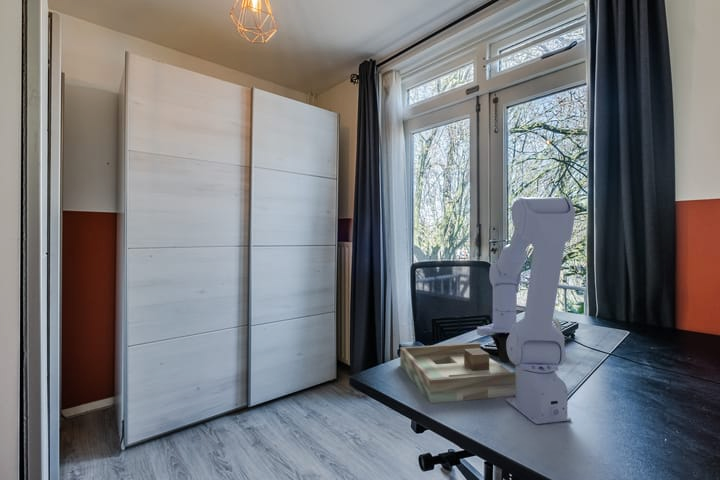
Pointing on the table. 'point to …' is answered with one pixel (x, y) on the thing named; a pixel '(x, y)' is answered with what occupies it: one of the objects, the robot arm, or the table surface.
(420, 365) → the board
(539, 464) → the table surface
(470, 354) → the block
